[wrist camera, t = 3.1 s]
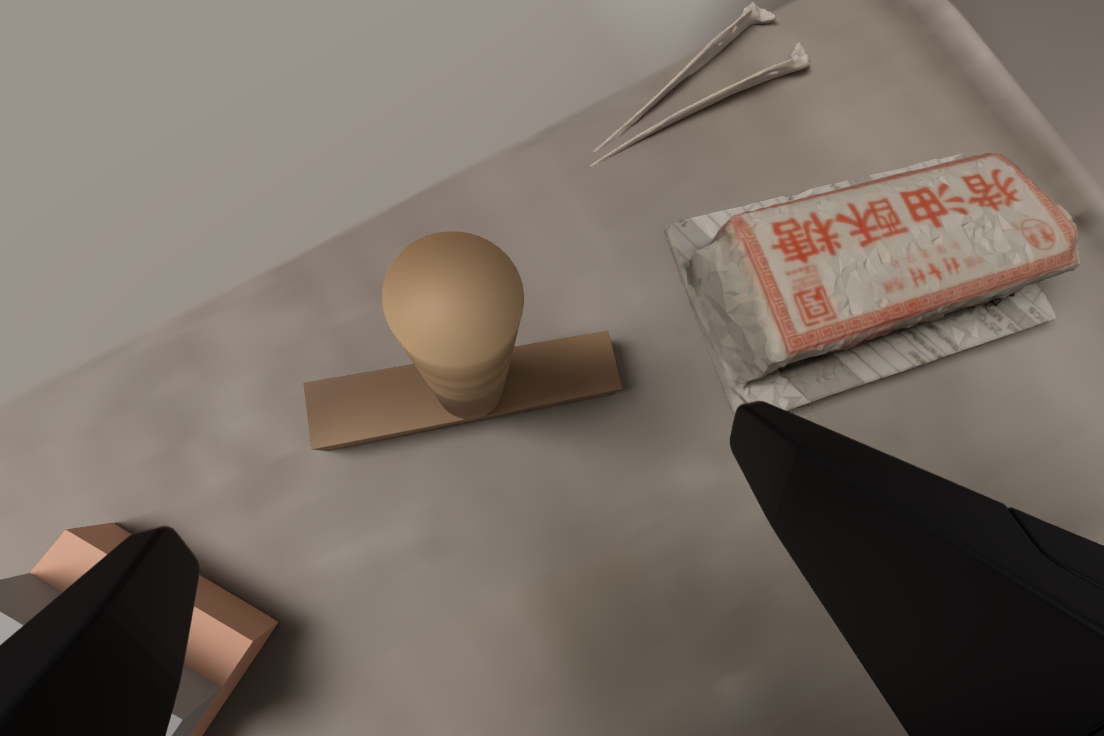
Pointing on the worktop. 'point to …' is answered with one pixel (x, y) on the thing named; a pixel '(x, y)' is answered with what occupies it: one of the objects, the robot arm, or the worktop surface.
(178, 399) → the worktop surface
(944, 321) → the packaged product
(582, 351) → the wooden stamp
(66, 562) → the fulcrum stand
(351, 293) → the worktop surface
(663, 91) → the pair of ivory hairpins
